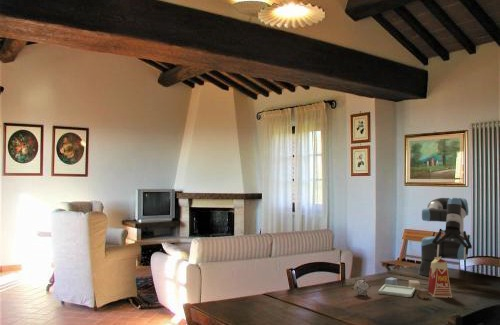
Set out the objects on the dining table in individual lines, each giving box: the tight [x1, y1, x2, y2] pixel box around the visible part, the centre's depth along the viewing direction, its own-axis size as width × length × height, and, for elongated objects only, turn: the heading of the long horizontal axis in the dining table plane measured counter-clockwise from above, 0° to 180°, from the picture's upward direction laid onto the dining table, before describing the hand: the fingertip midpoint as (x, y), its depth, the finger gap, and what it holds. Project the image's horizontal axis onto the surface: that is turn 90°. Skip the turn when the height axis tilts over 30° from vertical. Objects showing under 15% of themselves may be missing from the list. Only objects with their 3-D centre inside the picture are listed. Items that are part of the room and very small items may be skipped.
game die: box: [351, 278, 372, 297], centre depth 228 cm, size 9×8×10 cm
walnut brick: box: [416, 287, 430, 300], centre depth 225 cm, size 4×4×4 cm
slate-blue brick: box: [384, 277, 398, 286], centre depth 249 cm, size 6×4×4 cm, turn 134°
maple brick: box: [408, 279, 421, 291], centre depth 243 cm, size 5×5×4 cm
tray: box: [378, 283, 416, 298], centre depth 235 cm, size 16×16×2 cm
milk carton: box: [427, 256, 453, 298], centre depth 230 cm, size 9×9×20 cm
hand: (450, 257), depth 250 cm, fingers open, 13 cm apart
